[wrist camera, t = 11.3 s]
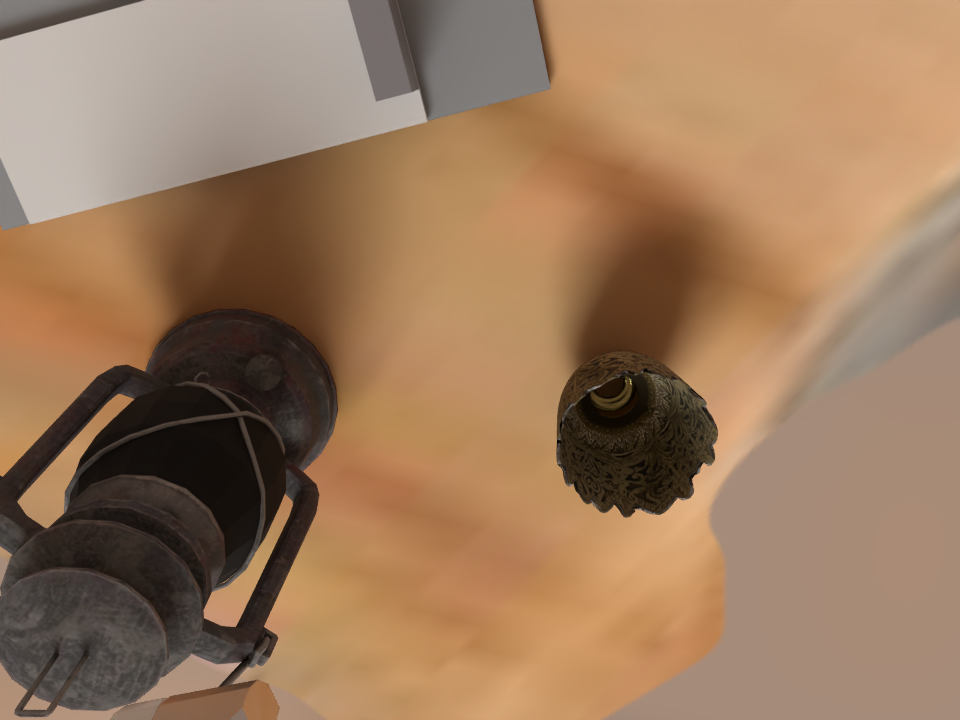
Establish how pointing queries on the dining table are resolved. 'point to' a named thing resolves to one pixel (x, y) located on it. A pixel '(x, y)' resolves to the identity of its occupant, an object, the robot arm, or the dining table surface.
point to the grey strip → (194, 94)
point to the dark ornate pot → (632, 435)
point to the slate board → (432, 41)
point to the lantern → (164, 513)
